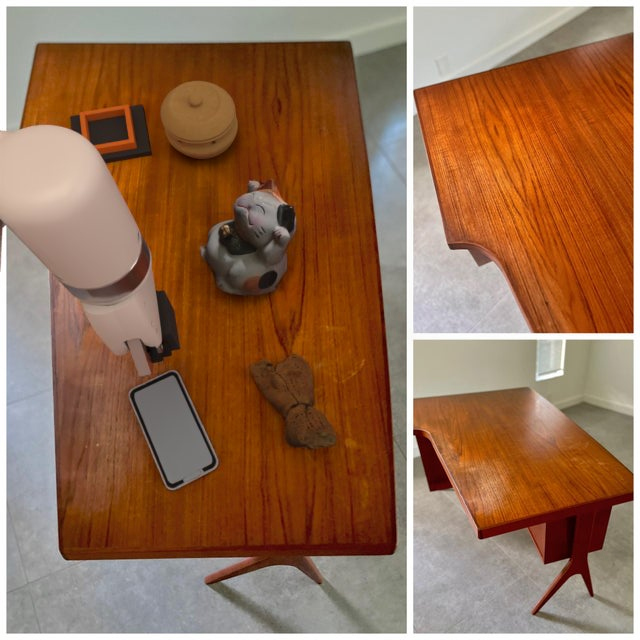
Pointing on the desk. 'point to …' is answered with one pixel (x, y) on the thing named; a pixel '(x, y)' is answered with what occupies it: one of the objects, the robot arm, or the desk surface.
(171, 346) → the dark grey cube
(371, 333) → the desk surface
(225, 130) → the pot
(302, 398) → the sculpture
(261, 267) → the lucky cat figurine
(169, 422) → the smartphone
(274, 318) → the desk surface
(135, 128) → the base pad
